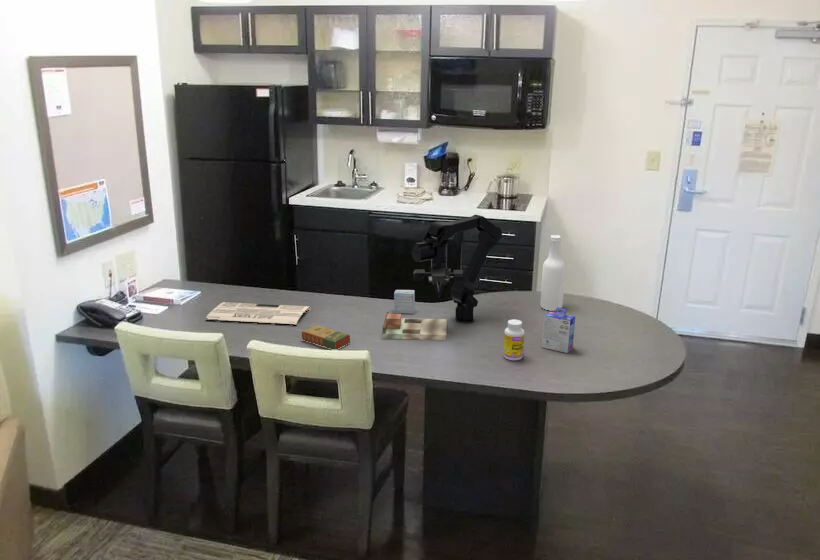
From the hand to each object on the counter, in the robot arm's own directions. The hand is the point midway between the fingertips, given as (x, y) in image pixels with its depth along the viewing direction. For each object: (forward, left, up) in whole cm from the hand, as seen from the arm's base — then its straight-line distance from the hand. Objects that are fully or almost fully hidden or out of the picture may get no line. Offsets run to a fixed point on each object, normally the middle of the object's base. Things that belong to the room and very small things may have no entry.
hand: (438, 297), depth 249 cm
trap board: (+8, +4, -12) cm, 15 cm away
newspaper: (+72, -8, -13) cm, 73 cm away
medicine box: (+14, -15, -12) cm, 24 cm away
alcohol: (-45, -22, -12) cm, 52 cm away
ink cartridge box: (-42, +17, -12) cm, 47 cm away
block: (+16, +5, -10) cm, 20 cm away
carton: (+40, +16, -13) cm, 45 cm away
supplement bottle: (-26, +25, -12) cm, 38 cm away
